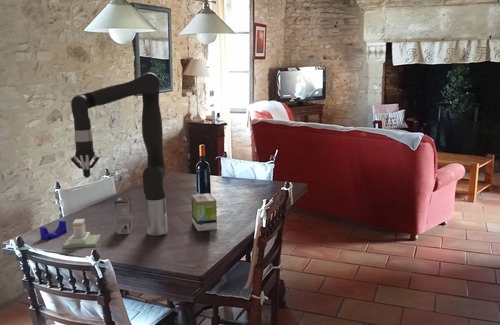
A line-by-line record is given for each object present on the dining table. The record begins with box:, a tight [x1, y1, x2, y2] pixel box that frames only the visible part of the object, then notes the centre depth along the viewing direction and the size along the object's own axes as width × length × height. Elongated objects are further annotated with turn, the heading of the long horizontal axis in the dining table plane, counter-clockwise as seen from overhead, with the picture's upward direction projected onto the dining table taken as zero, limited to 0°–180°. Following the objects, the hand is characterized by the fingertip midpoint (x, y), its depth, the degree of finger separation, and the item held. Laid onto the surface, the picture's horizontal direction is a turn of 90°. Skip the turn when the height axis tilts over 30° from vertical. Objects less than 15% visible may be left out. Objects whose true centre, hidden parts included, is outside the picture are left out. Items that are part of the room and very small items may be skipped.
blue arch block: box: [39, 219, 68, 242], centre depth 230 cm, size 12×4×6 cm, turn 148°
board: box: [62, 231, 102, 249], centre depth 222 cm, size 14×12×3 cm
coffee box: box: [114, 196, 133, 235], centre depth 235 cm, size 9×6×16 cm
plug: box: [72, 218, 87, 239], centre depth 221 cm, size 4×6×9 cm
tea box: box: [190, 192, 218, 232], centre depth 241 cm, size 15×10×15 cm, turn 17°
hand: (87, 177), depth 222 cm, fingers closed
